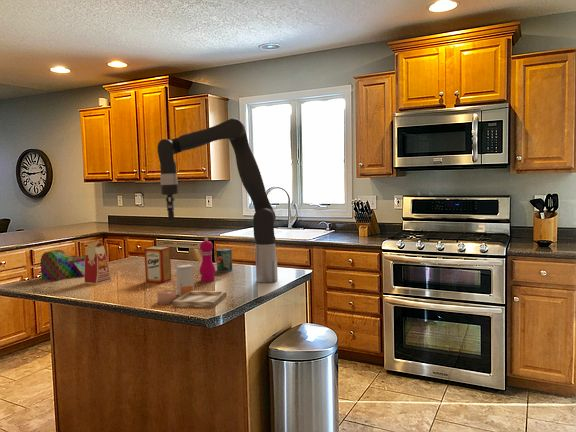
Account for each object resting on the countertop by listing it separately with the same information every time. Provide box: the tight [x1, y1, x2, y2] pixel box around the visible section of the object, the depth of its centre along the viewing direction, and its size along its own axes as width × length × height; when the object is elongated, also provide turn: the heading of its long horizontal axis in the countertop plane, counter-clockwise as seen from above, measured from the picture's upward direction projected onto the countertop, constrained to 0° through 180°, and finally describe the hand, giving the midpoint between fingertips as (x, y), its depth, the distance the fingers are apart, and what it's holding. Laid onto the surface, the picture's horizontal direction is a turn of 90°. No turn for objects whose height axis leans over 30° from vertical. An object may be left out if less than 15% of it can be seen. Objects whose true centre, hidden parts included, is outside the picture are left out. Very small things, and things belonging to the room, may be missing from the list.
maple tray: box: [172, 290, 228, 308], centre depth 189 cm, size 16×16×2 cm
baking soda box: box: [143, 245, 172, 284], centre depth 227 cm, size 10×6×16 cm
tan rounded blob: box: [156, 289, 177, 305], centre depth 189 cm, size 7×7×4 cm
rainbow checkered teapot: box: [40, 249, 85, 282], centre depth 247 cm, size 25×17×14 cm
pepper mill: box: [199, 237, 216, 283], centre depth 226 cm, size 7×7×20 cm
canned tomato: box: [215, 247, 233, 273], centre depth 249 cm, size 8×8×11 cm
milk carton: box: [83, 239, 113, 286], centre depth 228 cm, size 9×9×20 cm
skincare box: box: [175, 264, 195, 297], centre depth 200 cm, size 6×4×12 cm
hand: (171, 219), depth 222 cm, fingers open, 8 cm apart
